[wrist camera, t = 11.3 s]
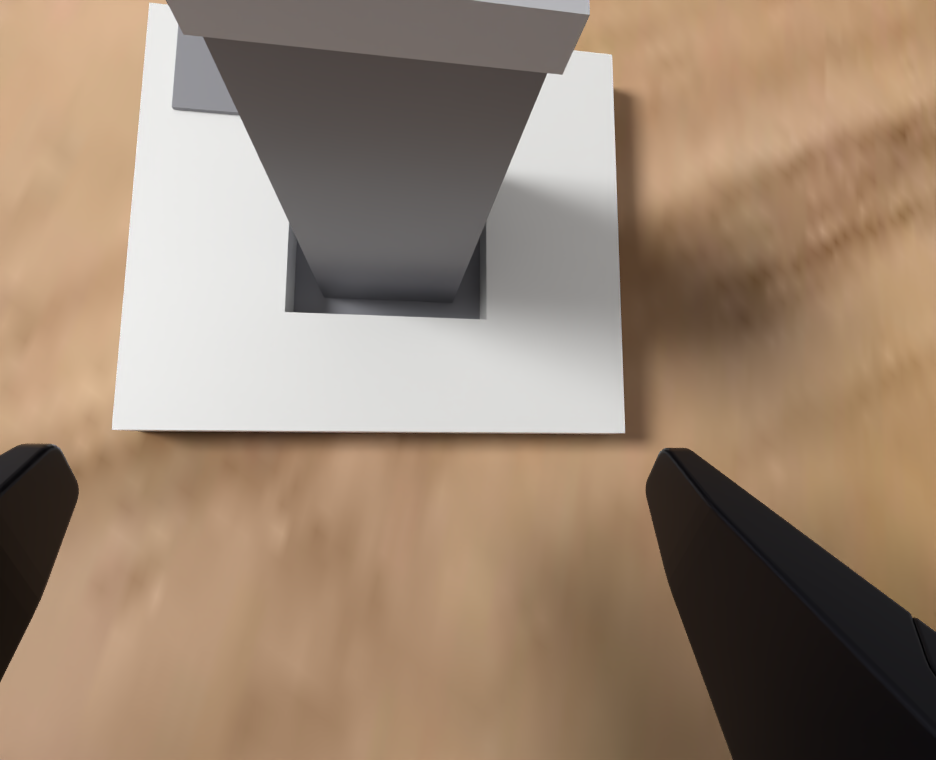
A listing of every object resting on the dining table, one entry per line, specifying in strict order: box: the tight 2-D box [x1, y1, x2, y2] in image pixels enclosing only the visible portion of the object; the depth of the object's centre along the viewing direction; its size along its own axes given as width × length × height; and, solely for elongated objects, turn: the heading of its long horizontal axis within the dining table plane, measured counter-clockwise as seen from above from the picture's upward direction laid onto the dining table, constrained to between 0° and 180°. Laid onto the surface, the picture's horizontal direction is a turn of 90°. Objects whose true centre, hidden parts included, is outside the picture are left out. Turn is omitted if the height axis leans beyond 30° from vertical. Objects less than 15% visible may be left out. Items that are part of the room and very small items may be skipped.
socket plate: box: [112, 3, 625, 434], centre depth 18 cm, size 14×16×2 cm
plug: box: [166, 0, 590, 303], centre depth 12 cm, size 5×5×13 cm
